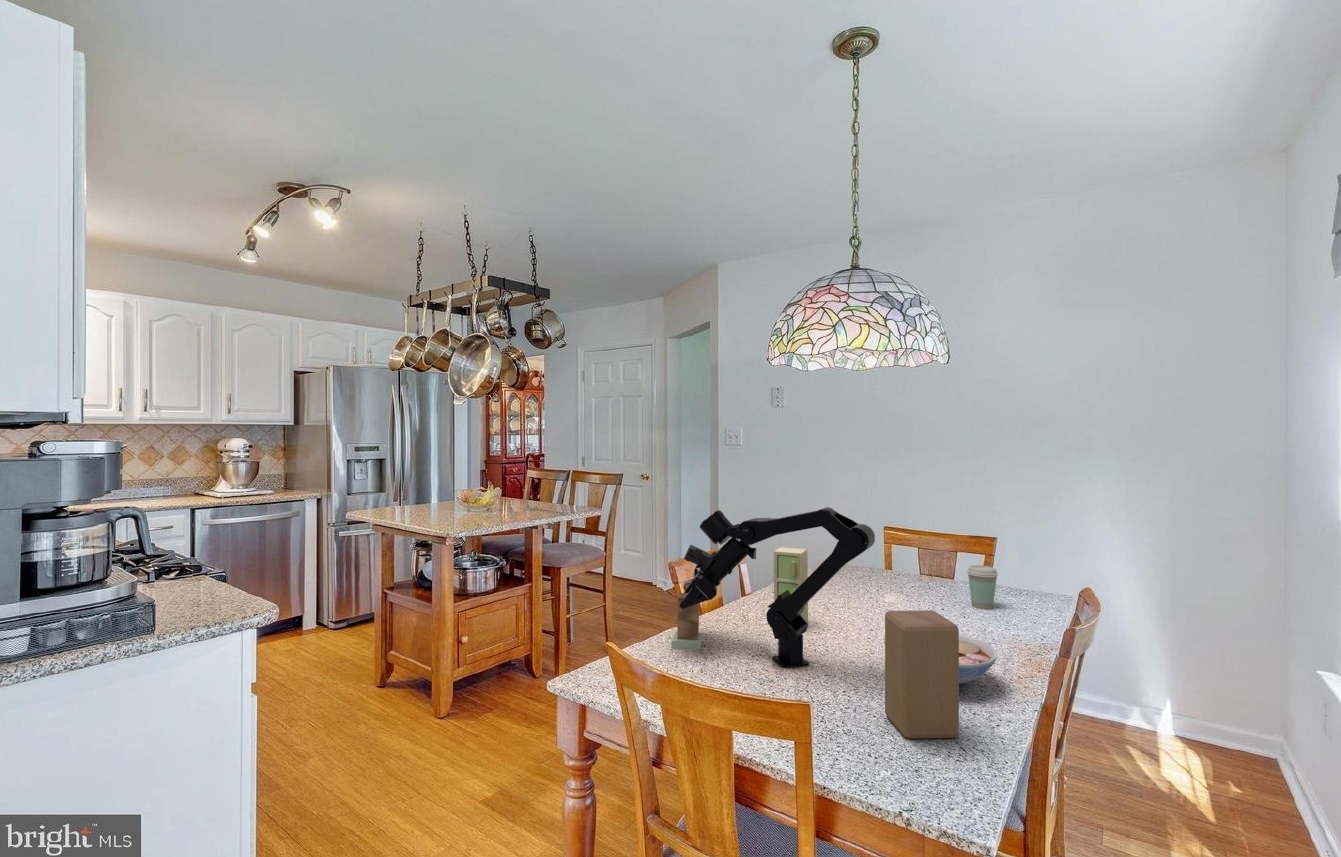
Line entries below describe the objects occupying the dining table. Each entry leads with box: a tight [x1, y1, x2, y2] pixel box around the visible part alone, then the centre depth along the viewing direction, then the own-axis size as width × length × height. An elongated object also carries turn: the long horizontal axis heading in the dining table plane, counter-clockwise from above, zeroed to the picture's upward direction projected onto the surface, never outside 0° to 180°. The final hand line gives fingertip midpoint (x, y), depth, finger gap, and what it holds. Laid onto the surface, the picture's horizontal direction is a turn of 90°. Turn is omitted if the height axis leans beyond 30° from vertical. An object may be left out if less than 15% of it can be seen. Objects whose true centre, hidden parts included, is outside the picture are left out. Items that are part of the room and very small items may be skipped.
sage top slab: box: [671, 630, 704, 651], centre depth 152 cm, size 7×7×2 cm
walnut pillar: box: [676, 592, 700, 640], centre depth 152 cm, size 5×5×10 cm
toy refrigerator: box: [773, 546, 809, 624], centre depth 171 cm, size 8×7×21 cm
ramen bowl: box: [883, 633, 998, 685], centre depth 134 cm, size 25×23×8 cm
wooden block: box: [884, 609, 960, 739], centre depth 112 cm, size 10×10×20 cm
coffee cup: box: [966, 564, 999, 610], centre depth 191 cm, size 8×9×12 cm
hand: (682, 602), depth 152 cm, fingers open, 9 cm apart
